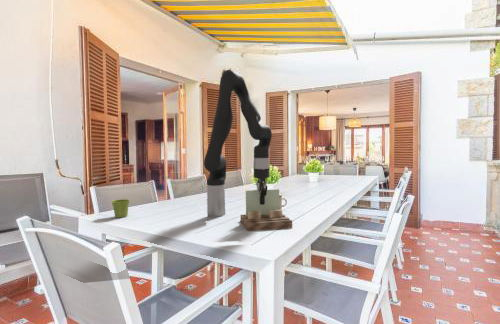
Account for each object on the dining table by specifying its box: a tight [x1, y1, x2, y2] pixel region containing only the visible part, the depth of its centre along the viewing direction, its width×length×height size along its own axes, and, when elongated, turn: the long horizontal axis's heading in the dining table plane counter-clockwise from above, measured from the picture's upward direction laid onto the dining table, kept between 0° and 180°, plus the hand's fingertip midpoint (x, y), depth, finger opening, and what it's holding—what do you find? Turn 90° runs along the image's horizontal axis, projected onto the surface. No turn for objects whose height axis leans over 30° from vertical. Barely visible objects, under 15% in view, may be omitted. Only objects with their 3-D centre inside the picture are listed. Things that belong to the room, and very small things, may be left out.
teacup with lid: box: [279, 193, 288, 211], centre depth 171 cm, size 12×9×12 cm
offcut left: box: [248, 211, 261, 219], centre depth 135 cm, size 6×2×6 cm, turn 101°
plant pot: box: [110, 198, 131, 219], centre depth 161 cm, size 9×9×9 cm
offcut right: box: [269, 210, 283, 218], centre depth 137 cm, size 6×2×6 cm, turn 101°
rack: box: [240, 213, 293, 232], centre depth 136 cm, size 20×18×4 cm
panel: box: [245, 188, 280, 216], centre depth 142 cm, size 16×1×14 cm, turn 101°
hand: (261, 204), depth 141 cm, fingers closed on panel, 1 cm apart
